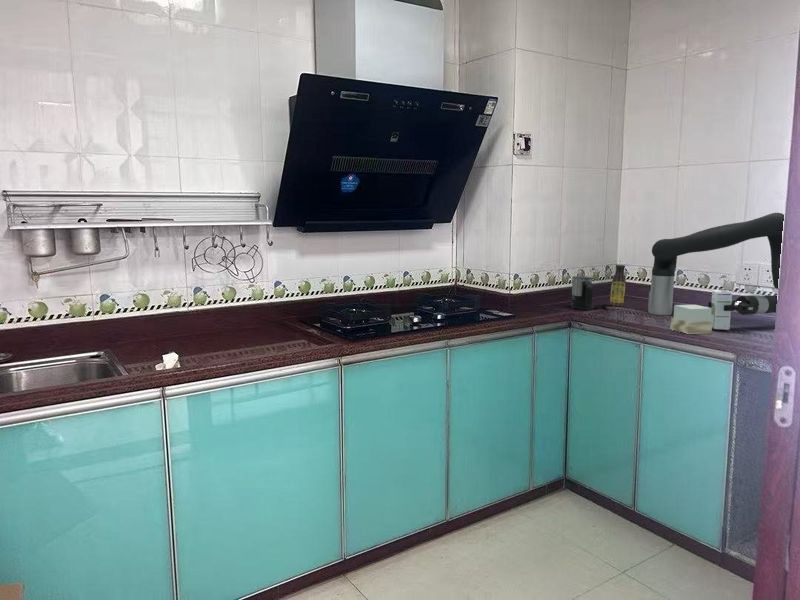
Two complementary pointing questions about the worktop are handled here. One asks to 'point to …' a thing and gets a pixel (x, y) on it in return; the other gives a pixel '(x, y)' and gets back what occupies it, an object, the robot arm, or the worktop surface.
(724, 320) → the syrup box
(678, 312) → the top block
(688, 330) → the bottom block
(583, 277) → the milk frother
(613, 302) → the sauce bottle
